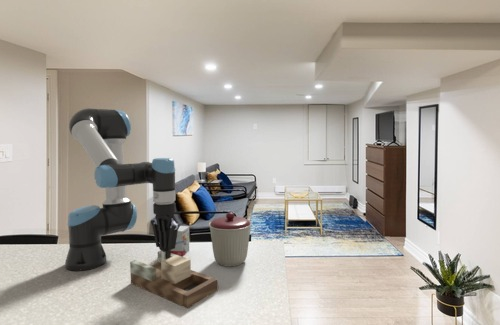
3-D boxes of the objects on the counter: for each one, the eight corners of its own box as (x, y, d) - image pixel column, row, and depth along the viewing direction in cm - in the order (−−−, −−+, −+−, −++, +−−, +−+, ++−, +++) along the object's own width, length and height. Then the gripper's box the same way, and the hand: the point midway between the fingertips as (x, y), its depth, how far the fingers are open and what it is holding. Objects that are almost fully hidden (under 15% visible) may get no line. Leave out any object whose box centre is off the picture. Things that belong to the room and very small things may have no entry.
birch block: (161, 278, 107) (161, 261, 107) (177, 271, 113) (176, 255, 112) (175, 283, 103) (174, 266, 103) (190, 276, 109) (190, 259, 108)
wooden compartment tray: (130, 283, 112) (130, 261, 111) (162, 269, 123) (161, 250, 123) (187, 308, 95) (186, 283, 95) (217, 290, 107) (217, 267, 106)
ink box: (182, 257, 137) (181, 230, 136) (164, 255, 138) (163, 229, 137) (190, 250, 145) (189, 225, 144) (173, 249, 147) (172, 224, 146)
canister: (255, 255, 139) (255, 208, 137) (246, 272, 121) (246, 219, 119) (216, 252, 142) (216, 206, 141) (202, 268, 125) (201, 216, 123)
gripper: (143, 201, 110) (145, 266, 112) (168, 206, 102) (169, 276, 104) (161, 198, 116) (162, 260, 118) (185, 202, 108) (186, 268, 110)
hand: (166, 267), depth 111 cm, fingers closed
